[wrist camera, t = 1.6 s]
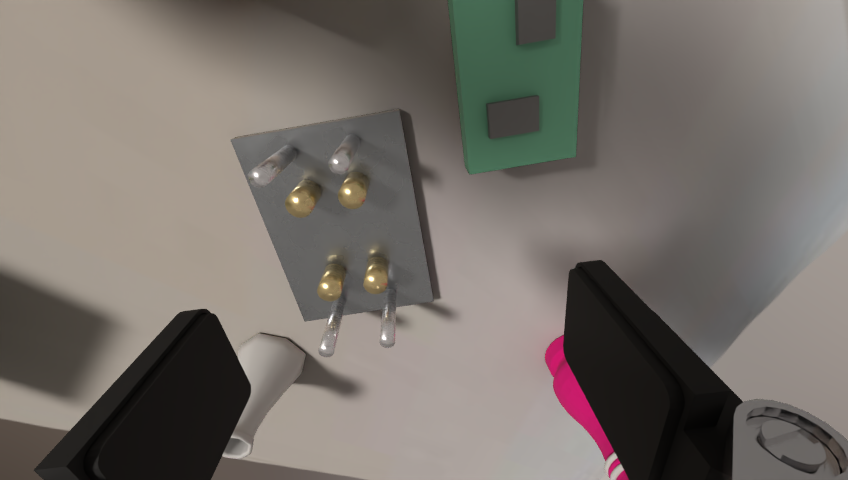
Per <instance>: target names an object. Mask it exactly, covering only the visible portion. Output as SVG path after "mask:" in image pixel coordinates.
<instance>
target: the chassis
mask: <svg viewBox="0 0 848 480" xmlns="http://www.w3.org/2000/svg"><path fill="white" fill-rule="evenodd" d="M231 142H232V145H233V147H234V150H235V152H236V155H237V157H238V160H239V162H240V164H241V167H242V169H243V172H244V174H245V177H246V179H247V182H248V184H249V186H250V189H251V191H252V194H253V196H254V199H255V201H256V204H257V206H258V208H259V211H260V213H261V216H262V218H263V221H264V223H265V226H266V228H267V230H268V233H269V235H270V238H271V240H272V243H273V245H274V248H275V250H276V252H277V255H278V257H279V260H280V262H281V265H282V267H283V270H284V272H285V274H286V277H287V279H288V282H289V284H290V287H291V289H292V292H293V294H294V297H295V299H296V301H297V304H298V306H299V309H300V311H301V314H302V316H303V319H304V321H311V320H318V319H324V318H328V320H327V324H326V327H325V331H324V334H323V337H322V341H321V344H320V348H319V354H320V355H321V356H323V357H330V356H332V355H333V353H334V349H335V345H336V341H337V337H338V333H339V329H340V325H341V320H342V316H343V315H349V314H356V313H362V312H368V311H375V310H381V309H383V311H382V322H381V334H380V344H381V346H383V347H385V348H389V347H392V346H393V345H394V344H395V322H396V307H400V306H407V305H413V304H419V303H426V302H432V301H434V300H433V293H432V288H431V282H430V276H429V271H428V265H427V260H426V254H425V248H424V243H423V237H422V232H421V226H420V221H419V215H418V209H417V204H416V198H415V193H414V187H413V181H412V176H411V170H410V165H409V159H408V154H407V148H406V142H405V137H404V131H403V126H402V120H401V114H400V109H395V110H390V111H384V112H378V113H372V114H366V115H361V116H355V117H349V118H343V119H338V120H332V121H326V122H320V123H315V124H309V125H303V126H297V127H292V128H286V129H280V130H274V131H269V132H263V133H257V134H251V135H245V136H240V137H235V138H233V139H231Z"/></svg>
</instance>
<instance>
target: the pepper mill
mask: <svg viewBox="0 0 848 480" xmlns="http://www.w3.org/2000/svg"><path fill="white" fill-rule="evenodd" d="M563 341H564V335H563V336H561V337H559V338H557V339H556V340H555V341H553V342H552V343H551V344H550V346H549V347H548V349H547V351H546V354H545V361H546V364H547V366H548V368H549V370H550V372H551V374H552V376H553V377H554V381H553V388H554V392H555V394H556V396H557V398H558V400H559V402H560V403H561V405H562V406H563V407H564V408H565V410H566V411H567V412H568V413H569V414H570V415H571V416H572V417H573V418H574V419H575V420H576V421H577V422H578V423H579V424H581V425H582V426H583V427H584V428H585V429H586V430H587V431H588V433H589V434H590V435H591V436H592V438H593V439H594V440H595V442H596V443H597V445H598V447H599V448H600V450H601V452H602V454H603V456H604V459H605V461H606V462H605V465H604V470H605V473H606V474H607V476H608V477H609V478H610V480H629V478H628V477H627V475H626V473H625V471H624V469H623V467H622V465H621V463H620V461H619V460H618V458H617V456H616V454H615V452H614V450H613V448H612V446H611V444H610V442H609V441H608V439H607V437H606V435H605V433H604V431H603V429H602V427H601V425H600V424H599V422H598V420H597V418H596V416H595V414H594V412H593V410H592V408H591V407H590V405H589V403H588V401H587V399H586V397H585V395H584V393H583V391H582V389H581V388H580V386H579V384H578V382H577V380H576V378H575V376H574V374H573V372H572V371H571V369H570V367H569V365H568V363H567V361H566V359H565V356H564V351H563Z"/></svg>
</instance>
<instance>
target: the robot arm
mask: <svg viewBox="0 0 848 480" xmlns="http://www.w3.org/2000/svg"><path fill="white" fill-rule="evenodd" d="M563 351H564V356H565V359H566V361H567V363H568V365H569V367H570V369H571V371H572V372H573V374H574V376H575V378H576V380H577V382H578V384H579V386H580V388H581V389H582V391H583V393H584V395H585V397H586V399H587V401H588V403H589V405H590V407H591V408H592V410H593V412H594V414H595V416H596V418H597V420H598V422H599V424H600V425H601V427H602V429H603V431H604V433H605V435H606V437H607V439H608V441H609V442H610V444H611V446H612V448H613V450H614V452H615V454H616V456H617V458H618V460H619V461H620V463H621V465H622V467H623V469H624V471H625V473H626V475H627V477H628V478H629V480H848V441H847V439H846V438H845V437H844V436H843V435H841V434H840V433H839V432H838V431H836V430H835V429H834V428H832V427H831V426H830V425H829V424H827V423H826V422H824V421H822V420H820V419H819V418H817V417H815V416H813V415H812V414H810V413H808V412H806V411H804V410H801V409H799V408H797V407H794V406H792V405H789V404H785V403H781V402H777V401H774V400H764V399H754V400H749V401H744V402H742V400H741V399H740V398H739V397H738V396H737V395H736V394H734V392H733V391H732V390H731V389H730V388H729V387H728V386H727V385H726V384H725V383H724V382H723V381H722V380H721V379H720V378H719V377H718V376H717V375H716V374H715V373H714V372H713V371H712V370H711V369H710V368H709V367H708V366H707V365H706V364H705V363H704V362H703V361H702V360H701V359H700V358H699V357H698V356H697V355H696V354H695V353H694V352H693V351H692V350H691V349H690V348H689V347H688V346H687V345H686V344H685V343H684V341H683V340H682V339H681V338H680V337H679V336H678V335H677V334H676V333H675V332H674V331H673V330H672V329H671V328H670V327H669V326H668V325H667V324H666V323H665V322H664V321H663V320H662V319H661V318H660V317H659V316H658V315H657V314H656V313H655V312H654V311H652V310H651V309H650V308H649V307H648V306H647V305H646V304H645V303H644V302H643V301H642V300H641V299H640V298H639V297H638V296H637V295H636V294H635V293H634V292H633V291H632V290H631V289H630V288H629V287H628V286H627V285H626V284H625V283H624V282H623V281H622V280H621V279H620V278H619V277H618V276H617V274H616V273H615V272H614V271H613V270H612V269H611V268H610V267H609V266H608V265H607V264H606V263H605V262H603V261H602V260H597V261H588V262H580V263H578V264H577V265H576V267H575V269H571V270H570V272H569V279H568V291H567V304H566V316H565V329H564V341H563ZM250 395H251V384H250V382H249V380H248V378H247V376H246V374H245V372H244V370H243V368H242V366H241V364H240V362H239V360H238V358H237V356H236V354H235V352H234V350H233V348H232V346H231V344H230V342H229V340H228V338H227V336H226V334H225V332H224V330H223V328H222V325H221V323H220V321H219V319H218V318H217V316H216V315H215V314H212V313H210V311H208V310H207V309H198V310H190V311H183V312H180V313H179V314H177V315H176V316H175V317H174V319H173V320H172V321H171V322H170V323H169V324H168V325H167V326H166V327H165V328H164V329H163V330H162V332H161V333H160V334H159V335H158V336H157V337H156V338H155V339H154V340H153V341H152V342H151V343H150V345H149V346H148V347H147V348H146V349H145V350H144V351H143V352H142V353H141V354H140V355H139V356H138V358H137V359H136V360H135V361H134V362H133V363H132V364H131V365H130V366H129V367H128V368H127V369H126V371H125V372H124V373H123V374H122V375H121V376H120V377H119V378H118V379H117V380H116V381H115V382H114V384H113V385H112V386H111V387H110V388H109V389H108V390H107V391H106V392H105V393H104V394H103V395H102V397H101V398H100V399H99V400H98V401H97V402H96V403H95V404H94V405H93V406H92V407H91V408H90V410H89V411H88V412H87V413H86V414H85V415H84V416H83V417H82V418H81V419H80V420H79V421H78V423H77V424H76V425H75V426H74V427H73V428H72V429H71V430H70V431H69V432H68V433H67V434H66V436H65V437H64V438H63V439H62V440H61V441H60V442H59V443H58V444H57V445H56V446H55V448H54V449H53V450H52V451H51V452H50V453H49V454H48V455H47V456H46V457H45V458H44V459H43V461H42V462H41V463H40V464H39V465H38V466H37V467H36V468H35V469H34V471H35V472H36V473H37V474H38V475H39V476H40V477H41V478H42V479H44V480H211V478H212V476H213V474H214V472H215V469H216V467H217V465H218V463H219V461H220V459H221V457H222V455H223V453H224V451H225V448H226V446H227V444H228V442H229V440H230V438H231V436H232V434H233V432H234V430H235V427H236V425H237V423H238V421H239V419H240V417H241V415H242V413H243V411H244V409H245V407H246V404H247V402H248V400H249V398H250Z"/></svg>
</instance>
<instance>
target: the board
mask: <svg viewBox="0 0 848 480" xmlns="http://www.w3.org/2000/svg"><path fill="white" fill-rule="evenodd" d="M448 8H449V18H450V28H451V37H452V47H453V56H454V66H455V76H456V85H457V95H458V105H459V114H460V124H461V134H462V143H463V153H464V162H465V167H466V169H467V171H468V173H469V174H476V173H482V172H488V171H494V170H500V169H506V168H512V167H518V166H524V165H530V164H536V163H542V162H548V161H554V160H560V159H566V158H572V157H576V145H577V123H578V102H579V81H580V59H581V38H582V17H583V0H448Z"/></svg>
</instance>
